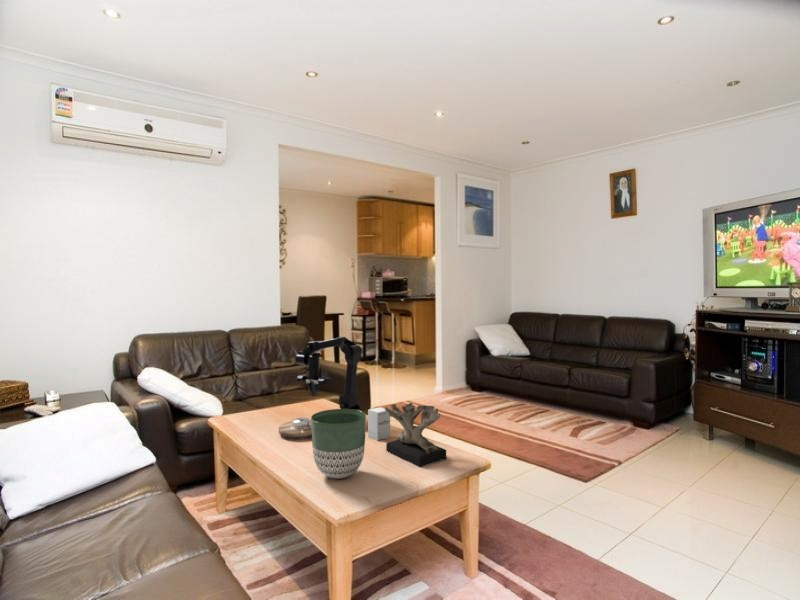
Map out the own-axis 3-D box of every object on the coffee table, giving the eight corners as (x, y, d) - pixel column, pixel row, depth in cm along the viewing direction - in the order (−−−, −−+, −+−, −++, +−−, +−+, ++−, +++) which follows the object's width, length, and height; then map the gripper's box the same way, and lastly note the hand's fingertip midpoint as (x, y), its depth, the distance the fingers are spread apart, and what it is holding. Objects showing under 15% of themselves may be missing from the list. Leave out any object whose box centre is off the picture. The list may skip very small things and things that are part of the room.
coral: (452, 462, 174) (452, 406, 173) (410, 474, 162) (410, 415, 162) (413, 444, 194) (413, 394, 194) (373, 454, 182) (372, 401, 182)
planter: (349, 461, 175) (348, 406, 175) (376, 477, 159) (376, 417, 159) (302, 473, 163) (301, 414, 163) (327, 492, 148) (326, 427, 147)
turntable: (325, 434, 202) (325, 419, 202) (279, 439, 196) (278, 423, 196) (320, 422, 221) (320, 408, 221) (278, 425, 216) (278, 411, 215)
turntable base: (325, 431, 211) (325, 429, 211) (301, 441, 198) (301, 438, 198) (300, 426, 220) (300, 423, 220) (275, 435, 206) (275, 432, 206)
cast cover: (310, 428, 206) (310, 421, 205) (292, 429, 203) (292, 423, 203) (308, 423, 213) (308, 416, 213) (291, 424, 211) (291, 418, 211)
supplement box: (377, 441, 198) (377, 412, 198) (367, 437, 204) (367, 409, 203) (390, 437, 203) (390, 409, 202) (380, 433, 208) (380, 406, 208)
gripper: (338, 365, 232) (338, 395, 233) (310, 362, 242) (311, 391, 242) (323, 368, 223) (324, 399, 223) (296, 365, 233) (296, 395, 233)
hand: (314, 396), depth 231 cm, fingers closed
